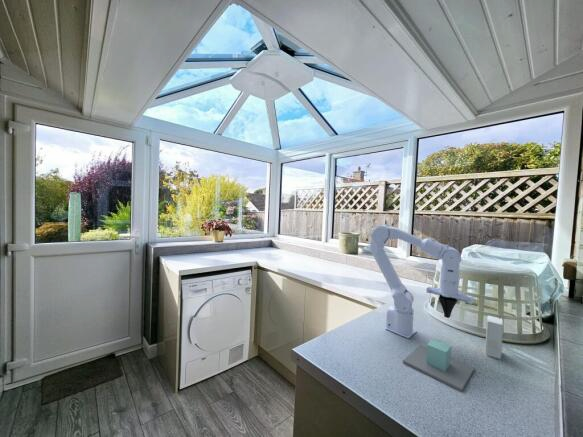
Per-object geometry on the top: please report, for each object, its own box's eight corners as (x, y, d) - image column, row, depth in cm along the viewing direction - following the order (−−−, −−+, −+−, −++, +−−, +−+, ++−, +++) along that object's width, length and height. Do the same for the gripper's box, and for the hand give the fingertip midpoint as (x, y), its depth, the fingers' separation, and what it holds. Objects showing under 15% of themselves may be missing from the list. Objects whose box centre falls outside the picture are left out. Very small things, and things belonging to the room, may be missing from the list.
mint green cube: (426, 362, 78) (427, 344, 77) (432, 356, 81) (433, 338, 81) (444, 371, 74) (446, 352, 73) (450, 364, 77) (451, 345, 77)
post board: (402, 362, 79) (403, 344, 78) (420, 346, 88) (421, 330, 88) (461, 391, 67) (463, 370, 66) (474, 369, 76) (475, 351, 76)
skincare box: (485, 347, 89) (487, 315, 88) (500, 351, 86) (503, 318, 86) (484, 354, 84) (487, 320, 84) (501, 359, 81) (503, 324, 81)
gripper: (424, 277, 93) (422, 312, 93) (470, 288, 82) (467, 327, 82) (431, 274, 97) (429, 308, 98) (475, 284, 86) (473, 321, 87)
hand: (447, 316), depth 91 cm, fingers closed
